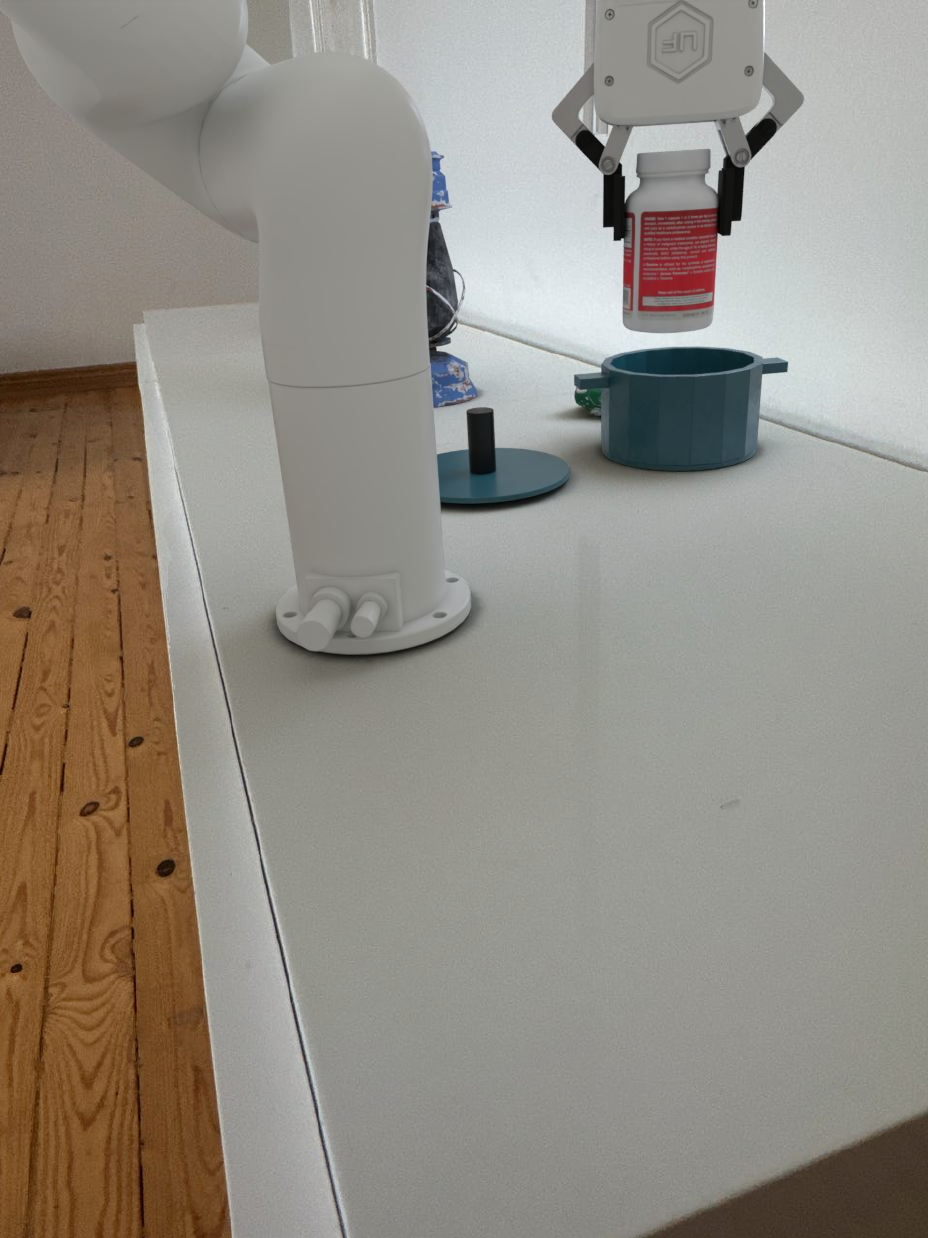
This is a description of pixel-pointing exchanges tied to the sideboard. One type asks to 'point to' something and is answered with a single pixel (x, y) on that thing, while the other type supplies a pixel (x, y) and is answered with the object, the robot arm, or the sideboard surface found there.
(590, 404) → the gaming controller
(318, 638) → the robot arm
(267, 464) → the sideboard surface
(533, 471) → the pot lid
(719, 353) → the teal cooking pot
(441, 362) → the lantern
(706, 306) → the pill bottle
